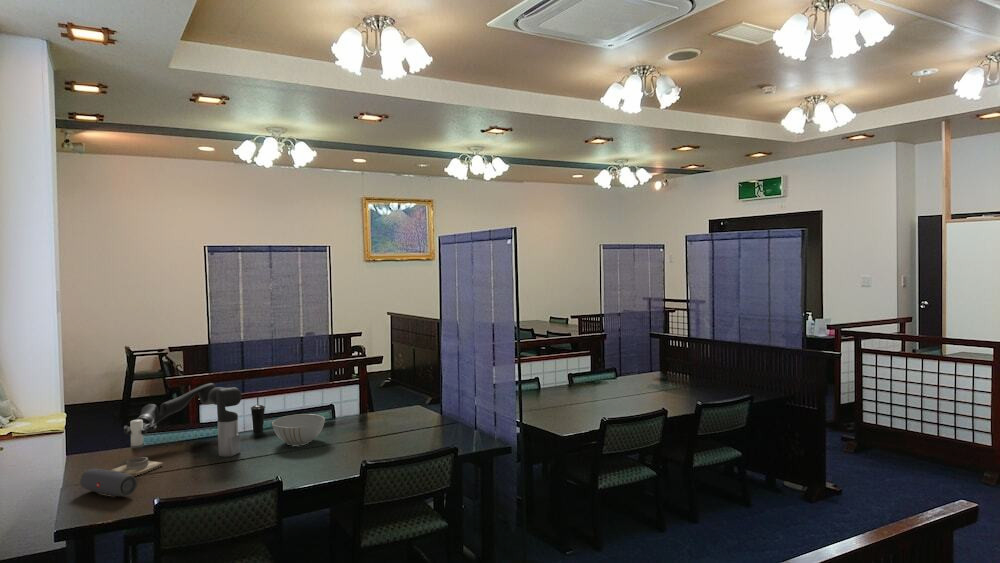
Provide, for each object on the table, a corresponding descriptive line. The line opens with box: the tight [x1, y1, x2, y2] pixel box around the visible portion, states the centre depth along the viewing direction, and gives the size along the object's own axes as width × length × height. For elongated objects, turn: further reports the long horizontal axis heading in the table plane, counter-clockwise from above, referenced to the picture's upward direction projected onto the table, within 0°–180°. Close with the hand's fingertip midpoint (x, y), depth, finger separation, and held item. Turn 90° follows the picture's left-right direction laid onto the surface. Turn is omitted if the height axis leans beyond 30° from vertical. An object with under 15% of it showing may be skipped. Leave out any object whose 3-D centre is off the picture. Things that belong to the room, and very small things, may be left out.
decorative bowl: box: [271, 413, 326, 446], centre depth 330 cm, size 27×27×12 cm
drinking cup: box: [250, 395, 266, 433], centre depth 351 cm, size 8×8×20 cm
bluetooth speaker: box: [79, 468, 138, 497], centre depth 259 cm, size 23×9×10 cm, turn 69°
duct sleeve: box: [129, 419, 145, 449], centre depth 289 cm, size 5×5×12 cm
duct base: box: [110, 456, 164, 477], centre depth 289 cm, size 15×15×4 cm
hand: (135, 433), depth 286 cm, fingers closed on duct sleeve, 5 cm apart
